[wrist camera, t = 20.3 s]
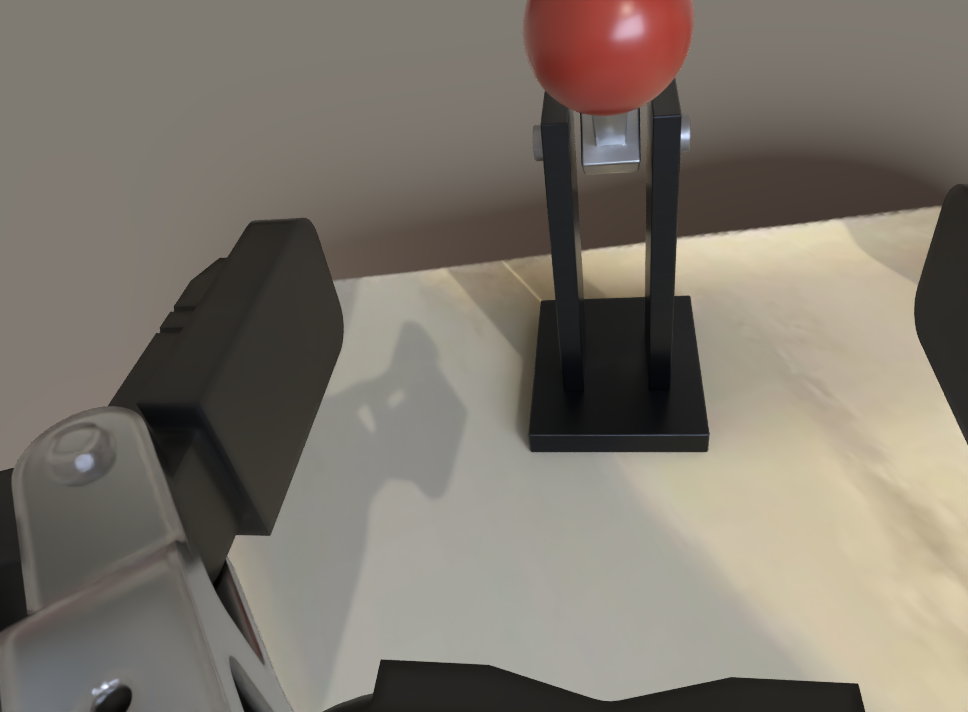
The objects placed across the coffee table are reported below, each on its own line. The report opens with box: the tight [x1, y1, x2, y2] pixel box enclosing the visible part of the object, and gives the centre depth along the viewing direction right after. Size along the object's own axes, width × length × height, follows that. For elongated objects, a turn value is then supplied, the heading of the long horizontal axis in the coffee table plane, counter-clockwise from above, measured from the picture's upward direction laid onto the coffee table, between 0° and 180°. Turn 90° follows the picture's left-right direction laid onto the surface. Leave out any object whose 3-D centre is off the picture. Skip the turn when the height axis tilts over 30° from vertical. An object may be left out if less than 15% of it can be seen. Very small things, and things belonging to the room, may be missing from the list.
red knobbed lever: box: [523, 0, 694, 175], centre depth 23 cm, size 17×4×4 cm
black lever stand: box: [528, 78, 709, 452], centre depth 34 cm, size 10×8×15 cm
